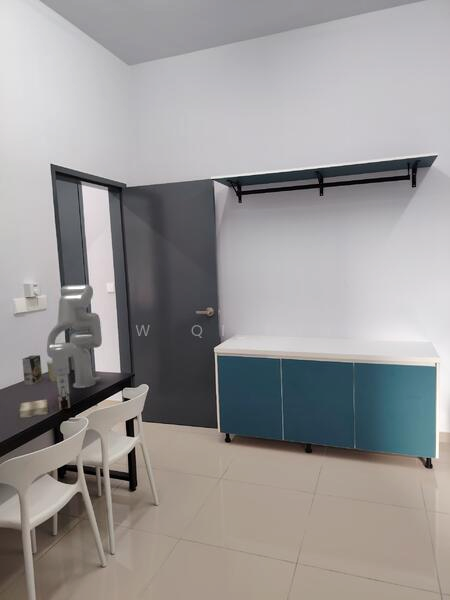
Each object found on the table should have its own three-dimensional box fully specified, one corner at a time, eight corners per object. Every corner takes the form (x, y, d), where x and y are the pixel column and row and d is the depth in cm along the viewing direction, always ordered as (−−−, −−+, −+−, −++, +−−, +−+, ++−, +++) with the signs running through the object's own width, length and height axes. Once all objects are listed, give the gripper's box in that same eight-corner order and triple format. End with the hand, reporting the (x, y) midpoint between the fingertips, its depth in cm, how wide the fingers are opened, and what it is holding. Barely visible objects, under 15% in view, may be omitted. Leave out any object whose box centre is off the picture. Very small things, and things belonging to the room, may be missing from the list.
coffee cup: (67, 378, 265) (65, 359, 264) (53, 382, 258) (51, 363, 257) (59, 376, 271) (58, 357, 270) (45, 380, 264) (43, 361, 263)
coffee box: (34, 385, 255) (31, 358, 253) (24, 385, 256) (21, 358, 254) (43, 380, 264) (40, 355, 262) (33, 380, 265) (31, 355, 263)
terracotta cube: (69, 404, 219) (68, 395, 218) (70, 407, 214) (69, 398, 213) (59, 406, 217) (58, 396, 216) (59, 409, 212) (58, 399, 212)
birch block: (47, 406, 218) (47, 399, 218) (47, 414, 207) (46, 406, 206) (21, 411, 213) (21, 403, 213) (20, 419, 202) (19, 411, 202)
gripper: (70, 374, 207) (73, 410, 209) (68, 365, 222) (71, 399, 225) (53, 376, 204) (56, 412, 206) (53, 368, 220) (56, 402, 222)
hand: (64, 405), depth 215 cm, fingers closed on terracotta cube, 5 cm apart
